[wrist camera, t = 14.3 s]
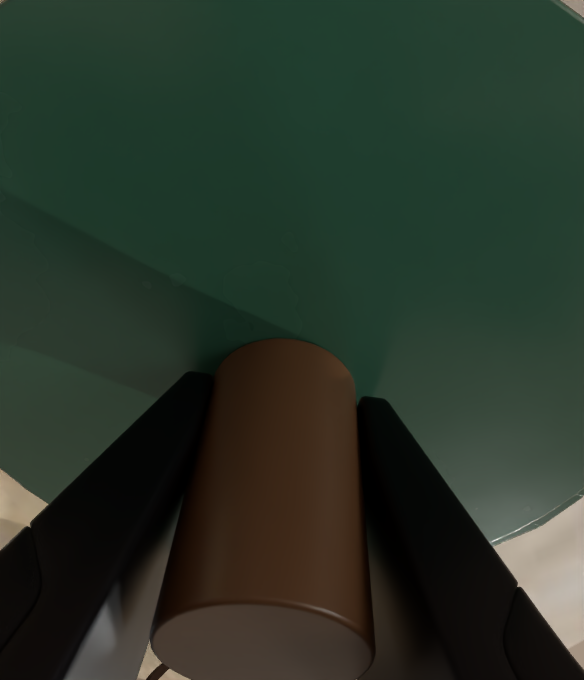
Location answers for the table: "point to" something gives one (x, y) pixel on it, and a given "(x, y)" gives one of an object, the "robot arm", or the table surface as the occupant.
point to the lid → (293, 281)
